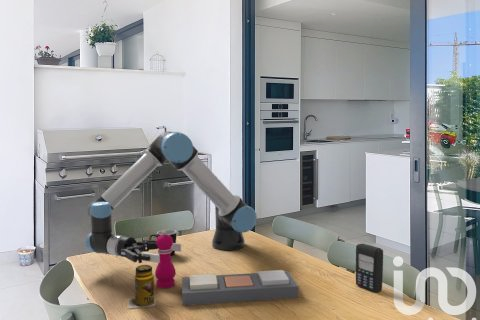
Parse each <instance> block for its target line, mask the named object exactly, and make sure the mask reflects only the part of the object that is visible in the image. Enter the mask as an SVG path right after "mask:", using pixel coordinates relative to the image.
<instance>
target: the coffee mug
mask: <svg viewBox="0 0 480 320" xmlns="http://www.w3.org/2000/svg"><path fill="white" fill-rule="evenodd" d="M164 230H165V231H166V232H167V235H170V236H171V237H172V239H173V243H177V235H178V231H177V230H175V229H174V230H173V229H162V230H159V231H157V232H156V234H151V235H150V236H149V237H148V240H152V239H151V238H152V237H155V238H156V239H157V238H158V237H159V236H160V235H162V231H164ZM174 256H176V251H172V252H171V257H174Z"/></svg>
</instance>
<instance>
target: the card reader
mask: <svg viewBox="0 0 480 320" xmlns="http://www.w3.org/2000/svg"><path fill="white" fill-rule="evenodd" d="M355 247H356V248H355V284H356V285H357V287H360V288H362V289H365V290H368V291H369V292H370V291H371V292H373V293H380V292H382V290H383V277H384V273H383V271H384V250H383V249H382V248H381V247H377V246H373V245H371V244H365V243H358V244H357V245H356V246H355Z"/></svg>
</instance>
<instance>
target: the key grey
mask: <svg viewBox="0 0 480 320" xmlns="http://www.w3.org/2000/svg"><path fill="white" fill-rule="evenodd" d="M257 273H258V278H259V281H260V283H261V285H262V286H266V285H282V284H289V279H288V277H287V275H286V274H285V272H284V269H278V270H277V269H276V270H261V271H260V270H259V271H257Z"/></svg>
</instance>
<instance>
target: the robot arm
mask: <svg viewBox="0 0 480 320" xmlns="http://www.w3.org/2000/svg"><path fill="white" fill-rule="evenodd" d="M166 162H169V164H170V165H171V166H172V167H173V168H174V169H175V170H176V171H182V172H183V173H184V174H185V175H186V176H187V177H188V179H190V180H191V181H192V183H194V184H195V186H196V187H197V188H198V189H199V190H200V191H201V192H202V193H203V194H204V195H205V196H206V197H207V198H208V200H210V201H211V203H212V204H213V205H214V207H215V208H214V209H215V210H214V211H215V215H214V216H215V231H214V235H213V238H212V242H211V243H212V244H211V246H212V247H213V248H214V249H217V250H223V251H234V250H240V249H242V248H244V247H245V246H246V244H245V242H246V241H245V237H244V235H243V233H247V232H250V231H251V230H252V229H253V228H254V227H255V225H256V223H257V213H256V210H255V209H254V208H253V207H252V206H249V205H248V204H246V203H245V201H244V200H243V199H242V198H241V197H240V195H236V194H235V195H234V194H233V193H232V192H231V191H230V190H229V188H227V187H226V186H225V185H224V183H223V182H222V181H221V180H220V179H219V178H218V177H217V176H216V175H215V173H214V172H213V171H212V170H211V169H210V168H209V167H208V166H207V165H206V164H205V162H204V161H203V160H202V159H201V158H200V157H199V150H198V149H197V148H196V147H195V146H194V143H193V141H192V140H191V139H190V138H189V136H188V135H187V134H185V133H182V132H179V131H165V132H162V133H160V134H159V135H158V136H157V137H156V138H155V139H154V140H153V141H152V142H151V144H149V146H147V147H146V148H145V150H144V153H143V154H142V156H141V157H139V159H137V161H135V162H134V163H133V164H132V165H131V166H130V167H128V169H127V170H126V171H124V173H123V174H121V176H120V177H119V178H118V179H117V180H116V181H115V182H114V183H112V185H110V186H109V187H108V188H107V189H106V191H104V192H103V193H102V194H101V195H100V196H99V197H98V198H97V199H96V200H94V201H92V202H90V203H89V205H88V206H87V207H88V208H87V214H88V216H89V219H90V223H91V224H90V225H91V232H90V233H88V235H87V236H86V240H85V242H84V244H85V247H86V250H88V251H89V252H92V253H96V254H104V255H108V256H109V255H110V256H115V257H117V258H118V257H123V258H126V259H128V260H130V261H131V262H133V263H137V262H138V264H142V263H143V261H144V262H149V263H157V264H158V263H159V262H160V256H159V253H158V254H156V253H150V252H149V251H151V250H154V251H155V250H158V247H157V245H156V239H153V240H152V239H151V240H149V239H143V240H142V241H137V240H136V239H135V238H134V237H132V236H126V235H119V234H113V228H112V227H113V225H112V222H113V221H112V218H113V217H112V213H113V212H112V211H113V210H114V209H115V208H116V207H118V205H119V204H120V203H122V201H123V200H125V198H126V197H127V196H129V195H130V194H131V193H132V191H134V190H135V189H136V188H137V187H138V186H139V185H140V184H141V183H142V182H143V181H144V180H145V179H147V177H149V175H150V174H152V172H153V171H155V169H157V167H162V166H163V165H164V164H165V163H166ZM171 248H172V251H175V252H179V253H180V252H182V243H177V242H176V243H173V245H172V246H171Z"/></svg>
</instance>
